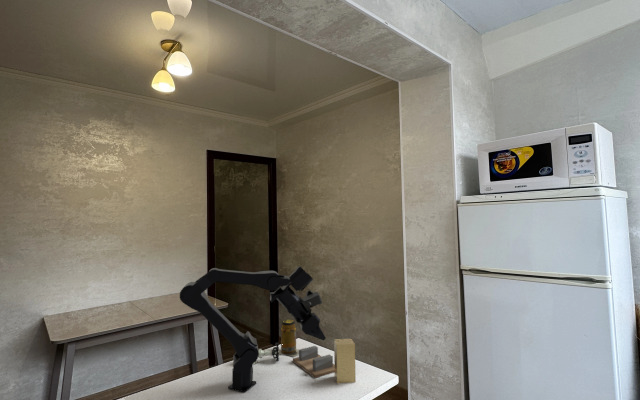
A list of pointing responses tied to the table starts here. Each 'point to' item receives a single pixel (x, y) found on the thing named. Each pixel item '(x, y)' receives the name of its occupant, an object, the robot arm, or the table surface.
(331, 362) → the vise
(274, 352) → the valve
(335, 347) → the brass block
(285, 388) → the table surface
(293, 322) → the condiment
